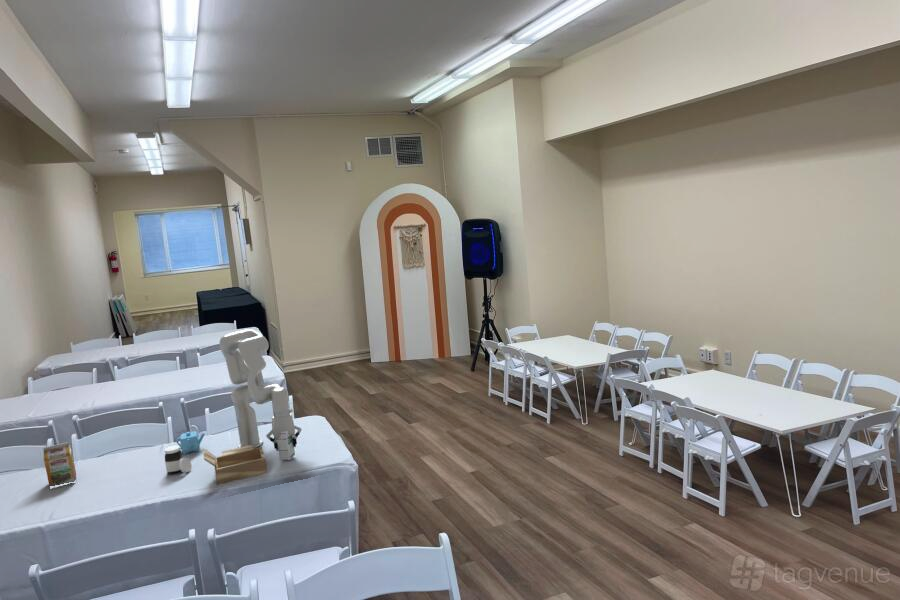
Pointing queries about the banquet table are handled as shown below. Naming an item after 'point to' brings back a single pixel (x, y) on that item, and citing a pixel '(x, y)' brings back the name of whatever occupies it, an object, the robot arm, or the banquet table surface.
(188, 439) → the teapot
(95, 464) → the banquet table surface
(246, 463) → the wooden square tray
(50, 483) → the yellow food package
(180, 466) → the spread jar
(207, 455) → the flap
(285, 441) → the syrup box
